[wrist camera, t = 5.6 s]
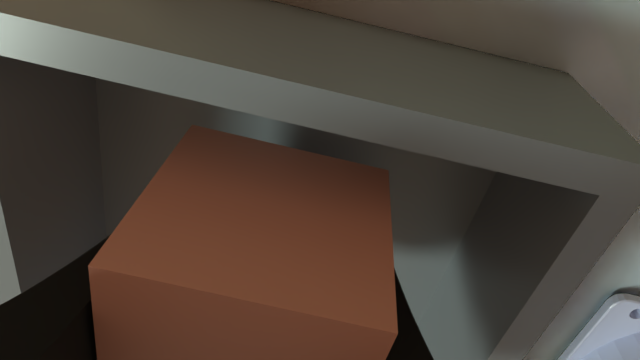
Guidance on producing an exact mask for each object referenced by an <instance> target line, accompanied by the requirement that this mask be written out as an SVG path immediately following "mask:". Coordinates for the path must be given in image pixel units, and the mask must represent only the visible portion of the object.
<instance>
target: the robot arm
mask: <svg viewBox="0 0 640 360" xmlns="http://www.w3.org/2000/svg"><path fill="white" fill-rule="evenodd" d="M110 235H111V234H110ZM110 235H109V236H108V237H106V238H105V239H103V240H102V241H101V242H99V243H98V244H96V245H95V246H94V247H92V248H91V249H89V250H88V251H86V252H85V253H84V254H82V255H81V256H79V257H78V258H76V259H75V260H73V261H72V262H70V263H69V264H67V265H66V266H64V267H63V268H61V269H60V270H58V271H56V272H55V273H53V274H52V275H50V276H49V277H47V278H45V279H44V280H42V281H41V282H39V283H37V284H36V285H34V286H33V287H31V288H29V289H27V290H26V291H24V292H22V293H21V294H19V295H17V296H15V297H14V298H12V299H10V300H8V301H6V302H5V303H3V304H1V305H0V360H97V354H96V343H95V333H94V322H93V312H92V302H91V291H90V281H89V271H88V265H89V264H90V262H91V261H92V260H93V258H94V257H95V256H96V254H97V253H98V252H99V250H100V249H101V248H102V246H103V245H104V243H105V242H106V241H107V239H108V238H109V237H110ZM394 274H395V291H396V308H397V325H398V335H397V337H396V339H395V341H394V343H393V345H392V347H391V349H390V352H389V354H388V356H387V358H386V360H434V359H433V357H432V355H431V353H430V351H429V349H428V347H427V345H426V342H425V340H424V338H423V336H422V334H421V332H420V330H419V327H418V325H417V323H416V321H415V319H414V316H413V314H412V312H411V309H410V307H409V305H408V302H407V300H406V297H405V295H404V292H403V290H402V287H401V285H400V282H399V279H398V276H397V274H396V271H395V268H394ZM557 360H640V297H639V296H635V295H631V294H623V293H620V294H615V295H613V296H611V297H610V298H608V299H607V300H606V301H605V303H604V304H603V305H602V306H601V308H600V309H599V310H598V311H597V312H596V314H595V315H594V316H593V317H592V318H591V320H590V321H589V322H588V323H587V324H586V326H585V327H584V328H583V329H582V330H581V332H580V333H579V334H578V335H577V337H576V338H575V339H574V340H573V341H572V343H571V344H570V345H569V346H568V347H567V349H566V350H565V351H564V352H563V353H562V355H561V356H560V357H559V358H558V359H557Z"/></svg>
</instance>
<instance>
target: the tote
mask: <svg viewBox="0 0 640 360" xmlns="http://www.w3.org/2000/svg"><path fill="white" fill-rule="evenodd" d="M191 125H196V126H200V127H205V128H209V129H213V130H218V131H222V132H226V133H231V134H235V135H239V136H243V137H248V138H252V139H256V140H261V141H265V142H269V143H274V144H278V145H282V146H286V147H291V148H295V149H299V150H304V151H308V152H312V153H317V154H321V155H325V156H330V157H334V158H338V159H342V160H347V161H351V162H355V163H360V164H364V165H368V166H373V167H377V168H381V169H385V170H388V171H389V188H390V205H391V222H392V239H393V257H394V268H395V271H396V274H397V276H398V279H399V282H400V285H401V287H402V290H403V292H404V295H405V297H406V300H407V302H408V305H409V307H410V309H411V312H412V314H413V316H414V319H415V321H416V323H417V325H418V327H419V330H420V332H421V334H422V336H423V338H424V340H425V342H426V345H427V347H428V349H429V351H430V353H431V355H432V357H433V359H434V360H523V359H524V357H525V356H526V355H527V353H528V352H529V351H530V349H531V348H532V347H533V345H534V344H535V343H536V341H537V340H538V339H539V337H540V336H541V335H542V333H543V332H544V331H545V330H546V328H547V327H548V326H549V324H550V323H551V322H552V320H553V319H554V318H555V316H556V315H557V314H558V312H559V311H560V310H561V308H562V307H563V306H564V304H565V303H566V302H567V300H568V299H569V298H570V296H571V295H572V294H573V293H574V291H575V290H576V289H577V287H578V286H579V285H580V283H581V282H582V281H583V279H584V278H585V277H586V275H587V274H588V273H589V271H590V270H591V269H592V267H593V266H594V265H595V263H596V262H597V261H598V260H599V258H600V257H601V256H602V254H603V253H604V252H605V250H606V249H607V248H608V246H609V245H610V244H611V242H612V241H613V240H614V238H615V237H616V236H617V234H618V233H619V232H620V230H621V229H622V228H623V226H624V225H625V224H626V223H627V221H628V220H629V219H630V217H631V216H632V215H633V213H634V212H635V211H636V209H637V208H638V207H639V205H640V144H639V143H638V142H637V141H636V140H635V139H634V138H633V137H632V136H631V135H630V134H629V133H628V132H627V131H626V130H625V129H624V128H623V127H622V126H621V125H620V124H619V123H618V122H617V121H616V120H615V119H614V118H613V117H612V116H610V115H609V114H608V113H607V112H606V111H605V110H604V109H603V108H602V107H601V106H600V105H599V104H598V103H597V102H596V101H595V100H594V99H593V98H592V97H591V96H590V95H589V94H588V93H587V92H586V91H585V90H584V89H583V88H582V87H581V86H580V85H579V84H578V83H577V82H576V81H575V80H574V79H573V78H572V77H571V76H570V75H569V74H568V73H565V72H561V71H557V70H553V69H549V68H545V67H541V66H537V65H533V64H528V63H524V62H520V61H516V60H512V59H508V58H504V57H500V56H496V55H491V54H487V53H483V52H479V51H475V50H471V49H467V48H463V47H459V46H455V45H450V44H446V43H442V42H438V41H434V40H430V39H426V38H422V37H418V36H414V35H409V34H405V33H401V32H397V31H393V30H389V29H385V28H381V27H377V26H373V25H368V24H364V23H360V22H356V21H352V20H348V19H344V18H340V17H336V16H331V15H327V14H323V13H319V12H315V11H311V10H307V9H303V8H299V7H295V6H290V5H286V4H282V3H278V2H274V1H270V0H0V305H1V304H3V303H5V302H6V301H8V300H10V299H12V298H14V297H15V296H17V295H19V294H21V293H22V292H24V291H26V290H27V289H29V288H31V287H33V286H34V285H36V284H37V283H39V282H41V281H42V280H44V279H45V278H47V277H49V276H50V275H52V274H53V273H55V272H56V271H58V270H60V269H61V268H63V267H64V266H66V265H67V264H69V263H70V262H72V261H73V260H75V259H76V258H78V257H79V256H81V255H82V254H84V253H85V252H86V251H88V250H89V249H91V248H92V247H94V246H95V245H96V244H98V243H99V242H101V241H102V240H103V239H105V238H106V237H108V236H109V235H110V234H112V233H113V231H114V230H115V229H116V227H117V226H118V224H119V223H120V222H121V220H122V219H123V218H124V216H125V215H126V214H127V212H128V211H129V210H130V208H131V207H132V205H133V204H134V203H135V201H136V200H137V199H138V197H139V196H140V195H141V193H142V192H143V191H144V189H145V188H146V186H147V185H148V184H149V182H150V181H151V180H152V178H153V177H154V176H155V174H156V173H157V172H158V170H159V169H160V167H161V166H162V165H163V163H164V162H165V161H166V159H167V158H168V157H169V155H170V154H171V153H172V151H173V150H174V148H175V147H176V146H177V144H178V143H179V142H180V140H181V139H182V138H183V136H184V135H185V134H186V132H187V131H188V129H189V128H190V127H191Z"/></svg>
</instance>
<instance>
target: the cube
mask: <svg viewBox="0 0 640 360" xmlns="http://www.w3.org/2000/svg"><path fill="white" fill-rule="evenodd" d="M88 271H89V281H90V291H91V302H92V312H93V322H94V333H95V343H96V354H97V360H386V358H387V356H388V354H389V352H390V349H391V347H392V345H393V343H394V341H395V339H396V337H397V335H398V325H397V308H396V291H395V274H394V257H393V239H392V222H391V205H390V188H389V171H388V170H385V169H381V168H377V167H373V166H368V165H364V164H360V163H355V162H351V161H347V160H342V159H338V158H334V157H330V156H325V155H321V154H317V153H312V152H308V151H304V150H299V149H295V148H291V147H286V146H282V145H278V144H274V143H269V142H265V141H261V140H256V139H252V138H248V137H243V136H239V135H235V134H231V133H226V132H222V131H218V130H213V129H209V128H205V127H200V126H196V125H191V127H190V128H189V129H188V131H187V132H186V134H185V135H184V136H183V138H182V139H181V140H180V142H179V143H178V144H177V146H176V147H175V148H174V150H173V151H172V153H171V154H170V155H169V157H168V158H167V159H166V161H165V162H164V163H163V165H162V166H161V167H160V169H159V170H158V172H157V173H156V174H155V176H154V177H153V178H152V180H151V181H150V182H149V184H148V185H147V186H146V188H145V189H144V191H143V192H142V193H141V195H140V196H139V197H138V199H137V200H136V201H135V203H134V204H133V205H132V207H131V208H130V210H129V211H128V212H127V214H126V215H125V216H124V218H123V219H122V220H121V222H120V223H119V224H118V226H117V227H116V229H115V230H114V231H113V233H112V234H111V235H110V237H109V238H108V239H107V241H106V242H105V243H104V245H103V246H102V248H101V249H100V250H99V252H98V253H97V254H96V256H95V257H94V258H93V260H92V261H91V262H90V264H89V265H88Z"/></svg>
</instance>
